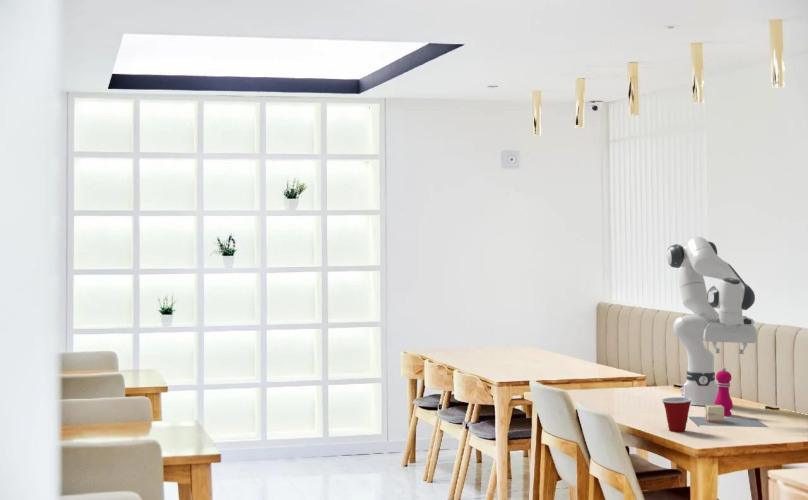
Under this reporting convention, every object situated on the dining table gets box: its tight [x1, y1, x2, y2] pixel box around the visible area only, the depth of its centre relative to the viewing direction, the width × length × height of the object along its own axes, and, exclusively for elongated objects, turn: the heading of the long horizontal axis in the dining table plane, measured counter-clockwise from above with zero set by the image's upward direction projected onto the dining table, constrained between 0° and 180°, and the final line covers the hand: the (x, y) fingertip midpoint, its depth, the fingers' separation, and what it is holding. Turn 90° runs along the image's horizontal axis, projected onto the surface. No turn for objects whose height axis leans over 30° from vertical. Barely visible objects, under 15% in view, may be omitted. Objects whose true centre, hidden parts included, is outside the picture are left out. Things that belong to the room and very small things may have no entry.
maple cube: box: [704, 405, 725, 423], centre depth 375 cm, size 6×6×6 cm
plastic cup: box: [661, 396, 692, 433], centre depth 356 cm, size 11×11×12 cm
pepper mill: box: [714, 366, 734, 417], centre depth 391 cm, size 7×7×20 cm
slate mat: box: [688, 416, 769, 428], centre depth 375 cm, size 20×26×1 cm
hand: (729, 353), depth 384 cm, fingers open, 8 cm apart
